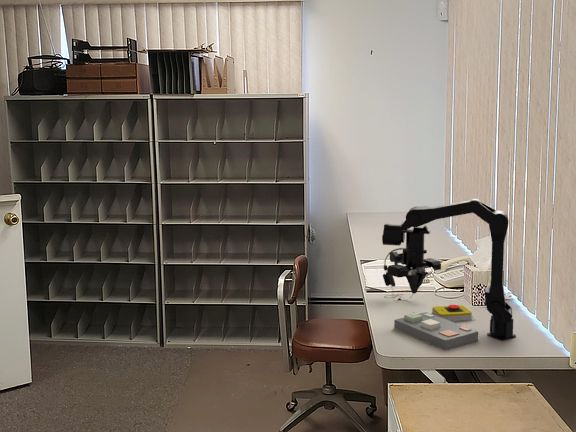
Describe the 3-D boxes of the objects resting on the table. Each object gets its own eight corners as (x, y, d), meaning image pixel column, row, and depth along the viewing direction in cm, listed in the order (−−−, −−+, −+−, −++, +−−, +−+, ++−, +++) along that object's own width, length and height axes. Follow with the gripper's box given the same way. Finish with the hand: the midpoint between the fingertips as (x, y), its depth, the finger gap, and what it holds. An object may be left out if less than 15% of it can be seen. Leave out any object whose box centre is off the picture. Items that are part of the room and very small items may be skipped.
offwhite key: (440, 328, 211) (440, 322, 210) (430, 331, 208) (430, 325, 208) (430, 324, 214) (430, 319, 214) (420, 327, 212) (421, 321, 212)
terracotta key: (458, 339, 204) (458, 333, 204) (448, 342, 202) (448, 336, 202) (448, 335, 208) (448, 329, 207) (438, 338, 205) (438, 332, 205)
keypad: (478, 340, 207) (478, 330, 206) (445, 349, 199) (445, 339, 199) (425, 320, 226) (426, 311, 226) (394, 328, 219) (394, 318, 218)
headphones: (421, 294, 256) (422, 244, 252) (424, 303, 245) (425, 250, 241) (381, 294, 257) (382, 243, 254) (382, 303, 246) (383, 250, 243)
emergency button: (477, 309, 225) (434, 311, 223) (476, 321, 225) (434, 324, 224) (466, 301, 234) (425, 303, 232) (466, 313, 235) (425, 315, 233)
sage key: (422, 321, 217) (422, 315, 217) (412, 324, 215) (412, 318, 215) (413, 318, 221) (413, 312, 221) (404, 320, 219) (404, 314, 218)
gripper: (419, 238, 225) (418, 283, 228) (376, 245, 215) (375, 292, 218) (443, 244, 216) (441, 290, 218) (399, 251, 206) (398, 300, 209)
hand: (413, 293), depth 216 cm, fingers closed
